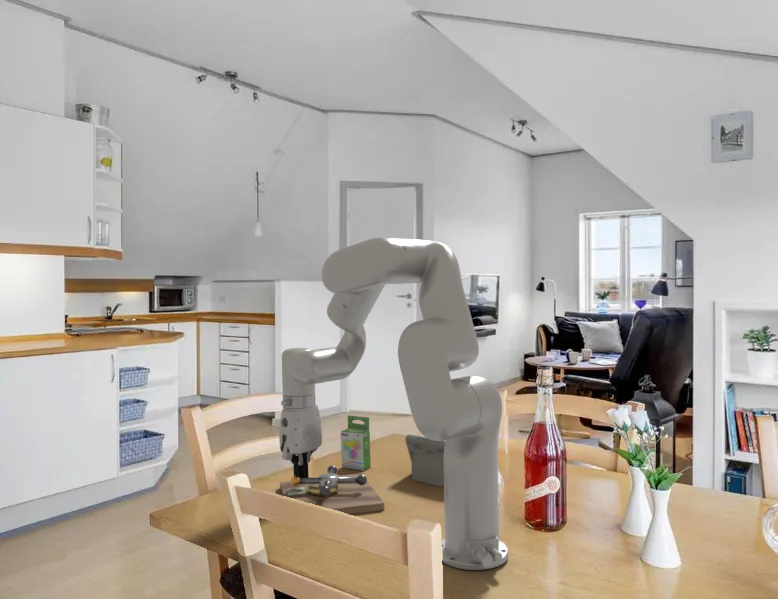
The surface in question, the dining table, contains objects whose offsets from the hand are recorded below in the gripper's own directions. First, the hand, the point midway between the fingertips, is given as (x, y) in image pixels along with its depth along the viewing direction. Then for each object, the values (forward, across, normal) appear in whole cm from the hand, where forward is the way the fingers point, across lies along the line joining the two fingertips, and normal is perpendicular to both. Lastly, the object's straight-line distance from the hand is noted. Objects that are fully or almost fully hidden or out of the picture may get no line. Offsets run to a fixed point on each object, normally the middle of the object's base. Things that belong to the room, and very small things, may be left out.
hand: (301, 480), depth 140 cm
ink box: (+4, +23, +2) cm, 24 cm away
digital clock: (+4, +26, -21) cm, 34 cm away
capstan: (+2, +2, -7) cm, 7 cm away
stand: (+4, +2, -7) cm, 8 cm away
